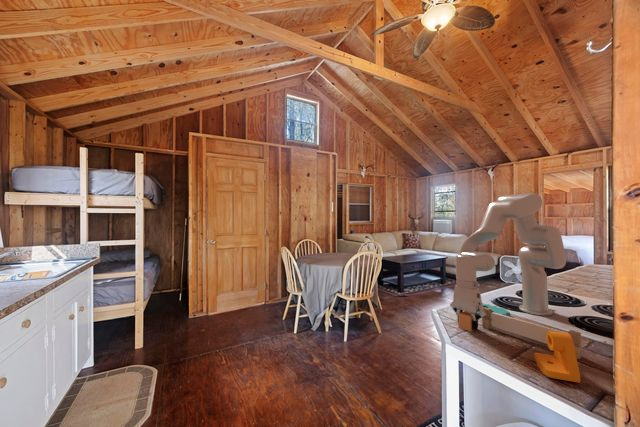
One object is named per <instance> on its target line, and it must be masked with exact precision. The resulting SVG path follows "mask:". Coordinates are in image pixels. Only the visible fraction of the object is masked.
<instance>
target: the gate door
mask: <svg viewBox="0 0 640 427" xmlns="http://www.w3.org/2000/svg"><path fill="white" fill-rule="evenodd" d="M492 326H493V327H496V328H499V329H503V330H506V331H509V332H512V333H515V334H518V335H521V336H525V337H528V338H531V339H534V340H537V341H540V342H543V343H547V340H546V333H547V331H553V332H561V333H568V331H567V332H566V331H562V330H559V329H555V328H552V327H548V326H545V325H541V324H538V323H534V322H530V321H526V320H523V319H520V318H515V317H512V316H510V317H509V316H505V315H501V314H498V313H494V312H492Z"/></svg>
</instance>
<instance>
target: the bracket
mask: <svg viewBox="0 0 640 427" xmlns="http://www.w3.org/2000/svg"><path fill="white" fill-rule="evenodd" d="M546 340H547V344H548V347H549V348H548V347H547V348H548V349H549V351H553V354H547V353H543V352H542V353H541V352H534V360H535V362H536V365H537V367H538V369H539V371H541V373H542V374H543V375H544V376H546V377H548V378H552V379H557V380H563V381H567V382H568V381H569V382H572V383H573V382H574V383H578V384H581V374H580V369H579V364H578V359H577V358H576V353H575V348H574V343H573V339H572V337H571V335H570V334H568V332H567V333H561V332H553V331H547V333H546Z"/></svg>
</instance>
